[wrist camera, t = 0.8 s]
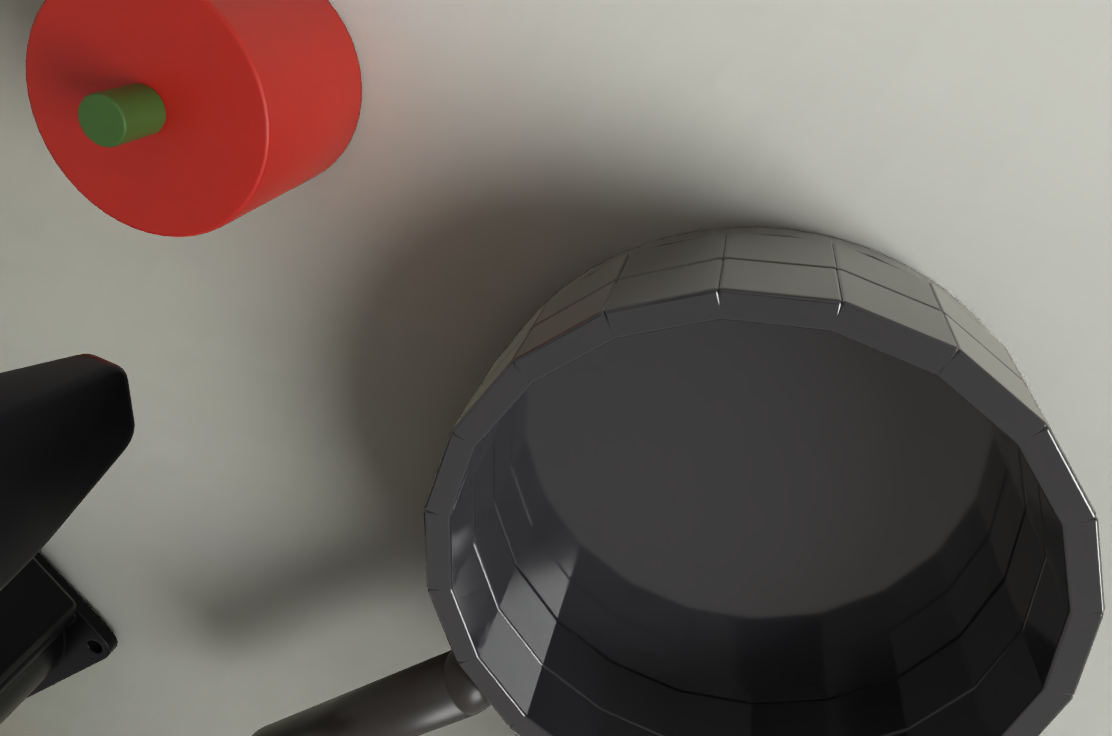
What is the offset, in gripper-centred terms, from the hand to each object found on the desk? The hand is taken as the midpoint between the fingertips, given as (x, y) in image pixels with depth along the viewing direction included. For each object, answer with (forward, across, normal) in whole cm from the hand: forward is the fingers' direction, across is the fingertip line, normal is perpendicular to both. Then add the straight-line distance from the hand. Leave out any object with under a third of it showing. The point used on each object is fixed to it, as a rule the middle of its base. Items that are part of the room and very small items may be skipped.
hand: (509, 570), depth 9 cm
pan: (+12, -2, +8) cm, 14 cm away
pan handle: (+7, +5, +15) cm, 17 cm away
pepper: (+11, +11, +1) cm, 15 cm away
